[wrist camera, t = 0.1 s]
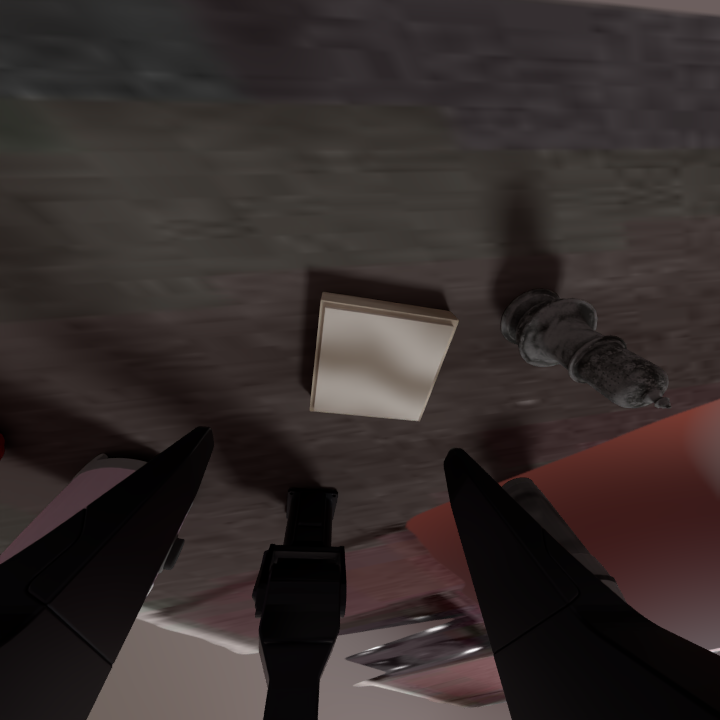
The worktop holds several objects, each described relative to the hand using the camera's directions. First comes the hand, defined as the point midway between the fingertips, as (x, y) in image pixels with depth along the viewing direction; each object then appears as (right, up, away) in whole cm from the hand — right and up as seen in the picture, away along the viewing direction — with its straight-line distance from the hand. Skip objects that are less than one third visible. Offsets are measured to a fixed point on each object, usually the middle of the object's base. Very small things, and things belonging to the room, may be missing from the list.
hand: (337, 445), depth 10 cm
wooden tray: (+2, +3, +15) cm, 16 cm away
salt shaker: (+16, +7, +14) cm, 23 cm away
